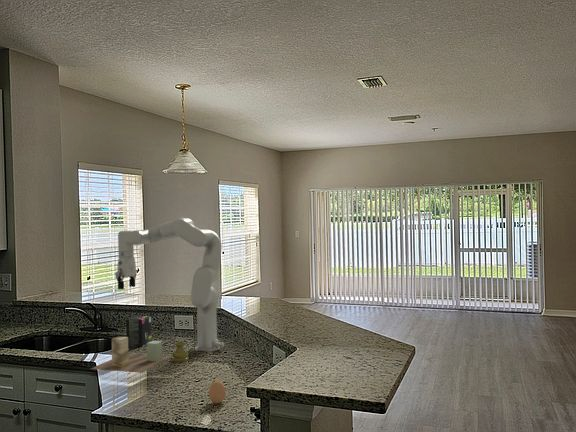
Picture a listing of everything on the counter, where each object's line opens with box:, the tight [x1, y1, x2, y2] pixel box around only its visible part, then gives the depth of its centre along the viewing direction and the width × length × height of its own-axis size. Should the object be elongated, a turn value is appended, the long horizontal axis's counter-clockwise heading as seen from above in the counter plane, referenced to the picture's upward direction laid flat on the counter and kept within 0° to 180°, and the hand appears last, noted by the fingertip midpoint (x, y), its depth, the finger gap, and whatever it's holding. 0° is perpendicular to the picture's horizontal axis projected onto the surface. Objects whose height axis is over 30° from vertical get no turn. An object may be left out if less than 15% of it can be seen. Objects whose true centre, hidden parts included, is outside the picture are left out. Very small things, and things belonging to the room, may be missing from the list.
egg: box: [208, 380, 227, 404], centre depth 189 cm, size 6×6×8 cm
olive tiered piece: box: [171, 340, 190, 363], centre depth 243 cm, size 7×7×10 cm
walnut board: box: [89, 352, 173, 374], centre depth 241 cm, size 26×28×1 cm
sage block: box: [146, 340, 163, 361], centre depth 245 cm, size 5×5×8 cm
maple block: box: [111, 336, 129, 367], centre depth 236 cm, size 5×5×12 cm
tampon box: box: [125, 315, 153, 348], centre depth 279 cm, size 11×9×15 cm
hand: (126, 287), depth 276 cm, fingers open, 9 cm apart
